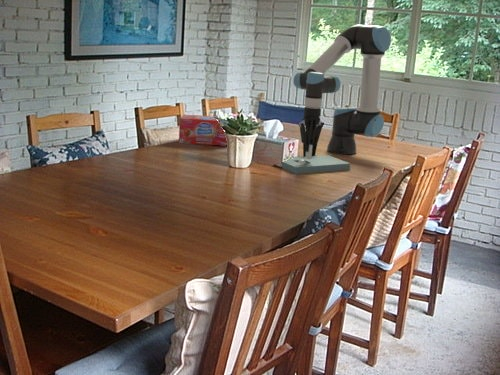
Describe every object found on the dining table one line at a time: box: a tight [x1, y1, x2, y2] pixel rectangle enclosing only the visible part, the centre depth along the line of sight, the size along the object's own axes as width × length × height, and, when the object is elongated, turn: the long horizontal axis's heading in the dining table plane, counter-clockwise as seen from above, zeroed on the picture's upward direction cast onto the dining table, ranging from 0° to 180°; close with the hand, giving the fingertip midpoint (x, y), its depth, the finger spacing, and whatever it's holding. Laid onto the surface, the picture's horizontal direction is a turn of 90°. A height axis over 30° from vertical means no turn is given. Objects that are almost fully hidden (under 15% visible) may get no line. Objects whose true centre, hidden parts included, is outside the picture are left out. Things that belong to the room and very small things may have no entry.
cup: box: [302, 143, 318, 157], centre depth 313 cm, size 8×8×12 cm
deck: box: [281, 154, 351, 175], centre depth 295 cm, size 30×18×3 cm, turn 120°
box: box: [178, 114, 227, 147], centre depth 334 cm, size 27×13×14 cm, turn 84°
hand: (308, 158), depth 293 cm, fingers closed
